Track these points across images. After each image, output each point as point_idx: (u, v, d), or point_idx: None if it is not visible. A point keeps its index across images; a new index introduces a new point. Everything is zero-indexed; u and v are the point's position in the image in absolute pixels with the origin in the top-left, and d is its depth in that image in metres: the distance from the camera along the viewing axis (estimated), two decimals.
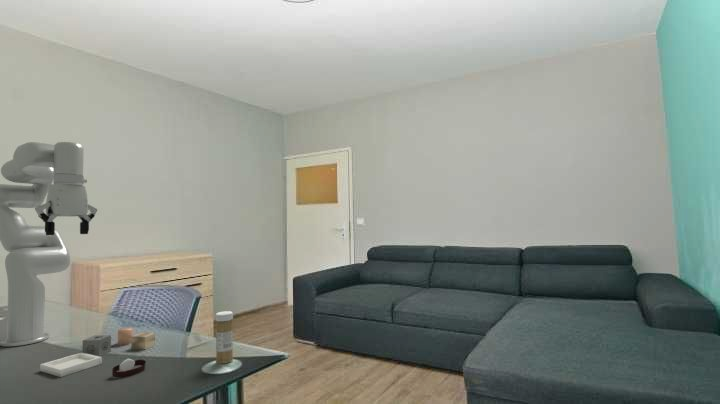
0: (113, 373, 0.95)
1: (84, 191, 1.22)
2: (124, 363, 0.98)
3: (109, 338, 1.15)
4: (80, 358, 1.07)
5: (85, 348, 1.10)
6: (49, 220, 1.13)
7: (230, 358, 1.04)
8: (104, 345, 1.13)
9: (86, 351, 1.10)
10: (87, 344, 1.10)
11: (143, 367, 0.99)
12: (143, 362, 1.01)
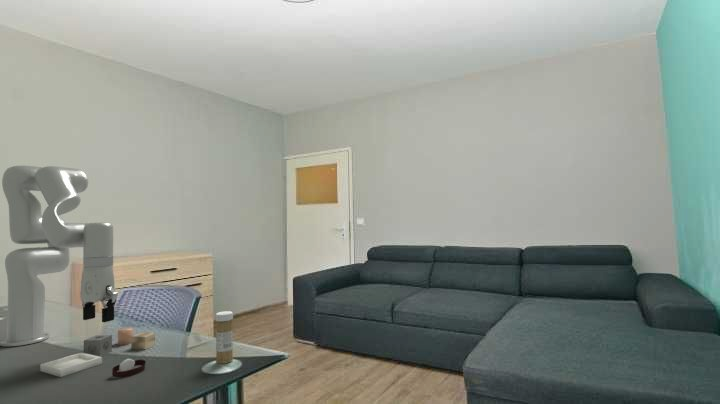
0: (113, 373, 0.95)
1: None
2: (124, 363, 0.98)
3: (110, 338, 1.15)
4: (80, 358, 1.07)
5: (86, 348, 1.10)
6: None
7: (230, 358, 1.04)
8: (105, 345, 1.13)
9: (87, 351, 1.10)
10: (88, 344, 1.10)
11: (143, 367, 0.99)
12: (143, 362, 1.01)
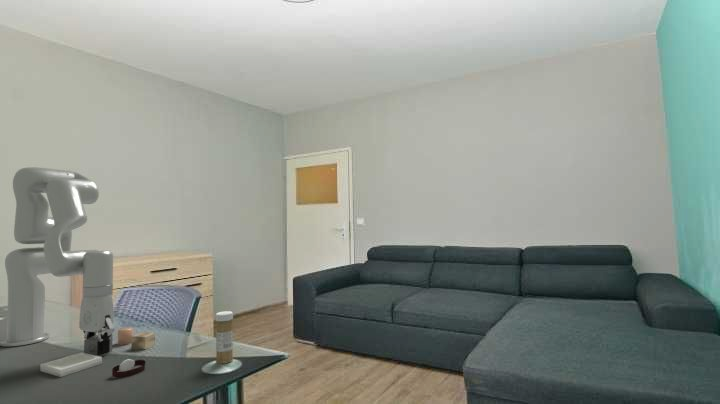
0: (113, 373, 0.95)
1: None
2: (124, 363, 0.98)
3: (111, 337, 1.15)
4: (80, 358, 1.07)
5: (87, 348, 1.11)
6: None
7: (230, 358, 1.04)
8: None
9: (88, 350, 1.11)
10: (89, 343, 1.11)
11: (143, 367, 0.99)
12: (143, 362, 1.01)
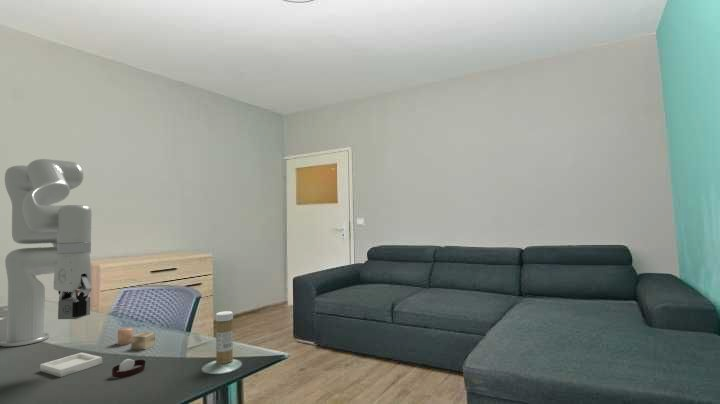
0: (113, 373, 0.95)
1: None
2: (124, 363, 0.98)
3: (88, 300, 1.06)
4: (80, 358, 1.07)
5: (61, 309, 1.01)
6: None
7: (230, 358, 1.04)
8: None
9: (62, 312, 1.01)
10: (63, 304, 1.01)
11: (143, 367, 0.99)
12: (143, 362, 1.01)
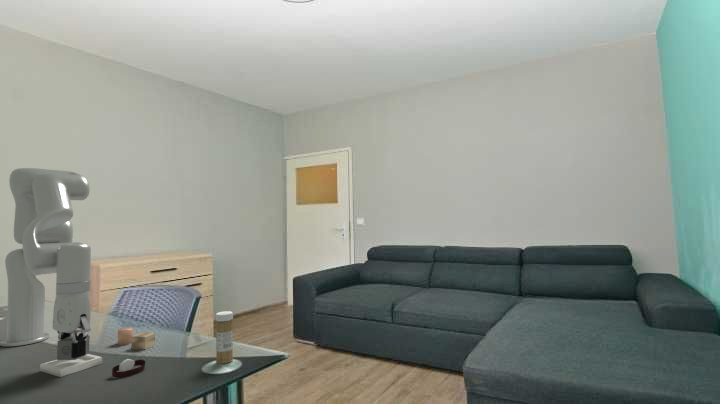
0: (113, 373, 0.95)
1: None
2: (124, 363, 0.98)
3: (87, 339, 1.05)
4: (80, 358, 1.07)
5: (60, 350, 1.01)
6: None
7: (230, 358, 1.04)
8: None
9: (61, 353, 1.01)
10: (62, 345, 1.01)
11: (143, 367, 0.99)
12: (143, 362, 1.01)
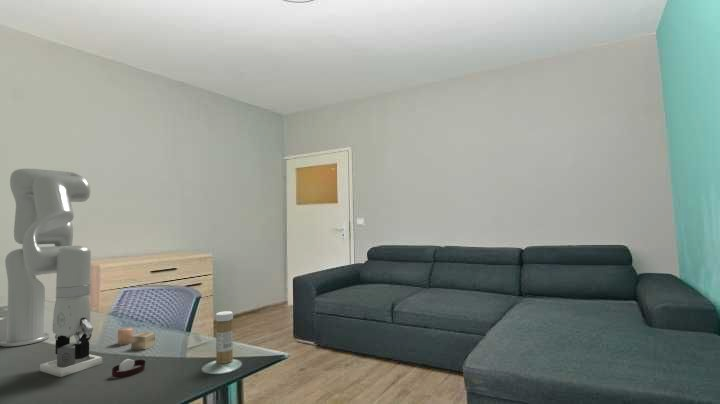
0: (113, 373, 0.95)
1: None
2: (124, 363, 0.98)
3: None
4: None
5: (60, 357, 1.01)
6: None
7: (230, 358, 1.04)
8: None
9: (61, 360, 1.00)
10: (62, 352, 1.01)
11: (143, 367, 0.99)
12: (143, 362, 1.01)
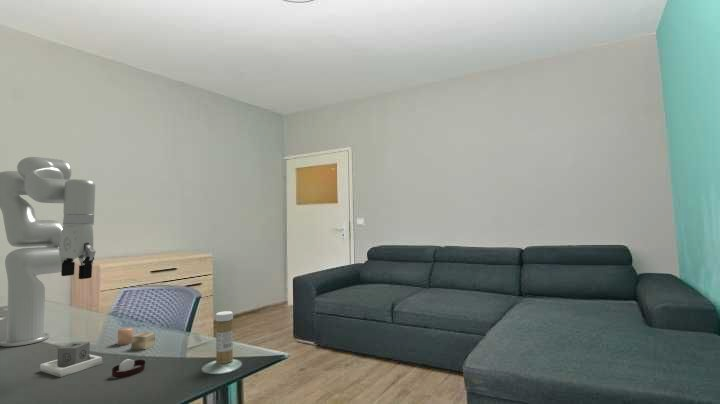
0: (113, 373, 0.95)
1: None
2: (124, 363, 0.98)
3: (88, 345, 1.05)
4: None
5: (61, 357, 1.01)
6: None
7: (230, 358, 1.04)
8: (82, 353, 1.03)
9: (61, 360, 1.00)
10: (63, 352, 1.01)
11: (143, 367, 0.99)
12: (143, 362, 1.01)
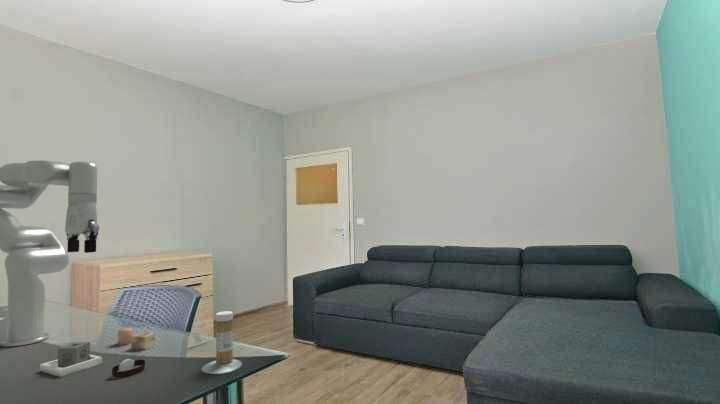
0: (113, 373, 0.95)
1: None
2: (124, 363, 0.98)
3: (88, 345, 1.05)
4: None
5: (61, 357, 1.01)
6: None
7: (230, 358, 1.04)
8: (82, 353, 1.03)
9: (62, 360, 1.01)
10: (63, 352, 1.01)
11: (143, 367, 0.99)
12: (143, 362, 1.01)
